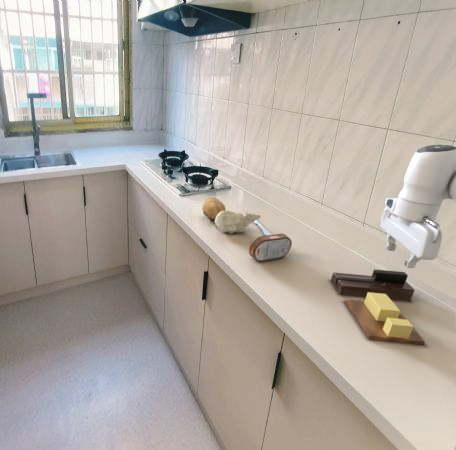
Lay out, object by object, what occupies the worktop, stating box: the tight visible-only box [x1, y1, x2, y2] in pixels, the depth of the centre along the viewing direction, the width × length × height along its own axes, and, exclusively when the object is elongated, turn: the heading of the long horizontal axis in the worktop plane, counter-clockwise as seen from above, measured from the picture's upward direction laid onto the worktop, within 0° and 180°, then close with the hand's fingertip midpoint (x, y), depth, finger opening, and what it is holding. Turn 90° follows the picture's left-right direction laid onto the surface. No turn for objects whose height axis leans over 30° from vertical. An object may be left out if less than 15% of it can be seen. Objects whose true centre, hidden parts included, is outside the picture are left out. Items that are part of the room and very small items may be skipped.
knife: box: [340, 268, 408, 284], centre depth 94 cm, size 16×2×6 cm, turn 83°
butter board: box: [344, 299, 426, 346], centre depth 83 cm, size 12×14×1 cm
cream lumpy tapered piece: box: [214, 210, 262, 235], centre depth 129 cm, size 15×7×15 cm
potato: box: [201, 196, 227, 221], centre depth 139 cm, size 10×14×8 cm
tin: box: [248, 233, 293, 262], centre depth 109 cm, size 15×3×8 cm, turn 110°
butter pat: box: [383, 318, 414, 339], centre depth 78 cm, size 4×2×4 cm, turn 82°
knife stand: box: [330, 271, 415, 302], centre depth 95 cm, size 18×7×4 cm, turn 83°
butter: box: [364, 292, 401, 322], centre depth 85 cm, size 4×7×4 cm, turn 173°
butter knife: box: [247, 211, 273, 236], centre depth 137 cm, size 1×24×3 cm
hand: (399, 257), depth 91 cm, fingers open, 8 cm apart
